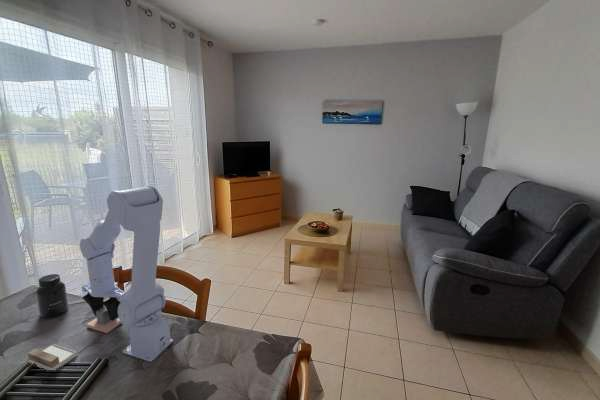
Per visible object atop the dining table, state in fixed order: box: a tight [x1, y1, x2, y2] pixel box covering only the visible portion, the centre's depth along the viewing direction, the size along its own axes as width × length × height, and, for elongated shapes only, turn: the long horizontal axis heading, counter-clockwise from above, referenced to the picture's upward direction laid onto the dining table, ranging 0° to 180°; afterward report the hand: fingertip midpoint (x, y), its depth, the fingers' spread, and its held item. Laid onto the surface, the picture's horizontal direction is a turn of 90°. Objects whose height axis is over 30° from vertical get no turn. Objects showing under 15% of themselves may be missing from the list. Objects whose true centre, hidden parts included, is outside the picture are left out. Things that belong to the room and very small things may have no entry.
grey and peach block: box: [86, 306, 123, 334], centre depth 81 cm, size 8×5×5 cm
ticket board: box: [27, 343, 77, 370], centre depth 69 cm, size 8×6×3 cm
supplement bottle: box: [35, 273, 69, 319], centre depth 85 cm, size 7×7×12 cm
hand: (106, 316), depth 82 cm, fingers open, 5 cm apart
